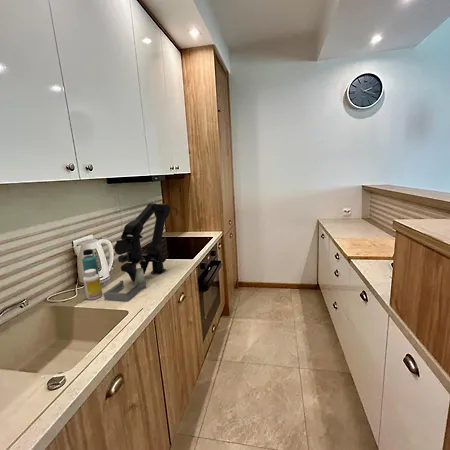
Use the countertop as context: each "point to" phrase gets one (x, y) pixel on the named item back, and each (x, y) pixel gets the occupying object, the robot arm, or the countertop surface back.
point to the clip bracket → (113, 294)
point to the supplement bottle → (92, 284)
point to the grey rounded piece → (139, 276)
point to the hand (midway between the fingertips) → (138, 277)
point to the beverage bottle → (89, 261)
